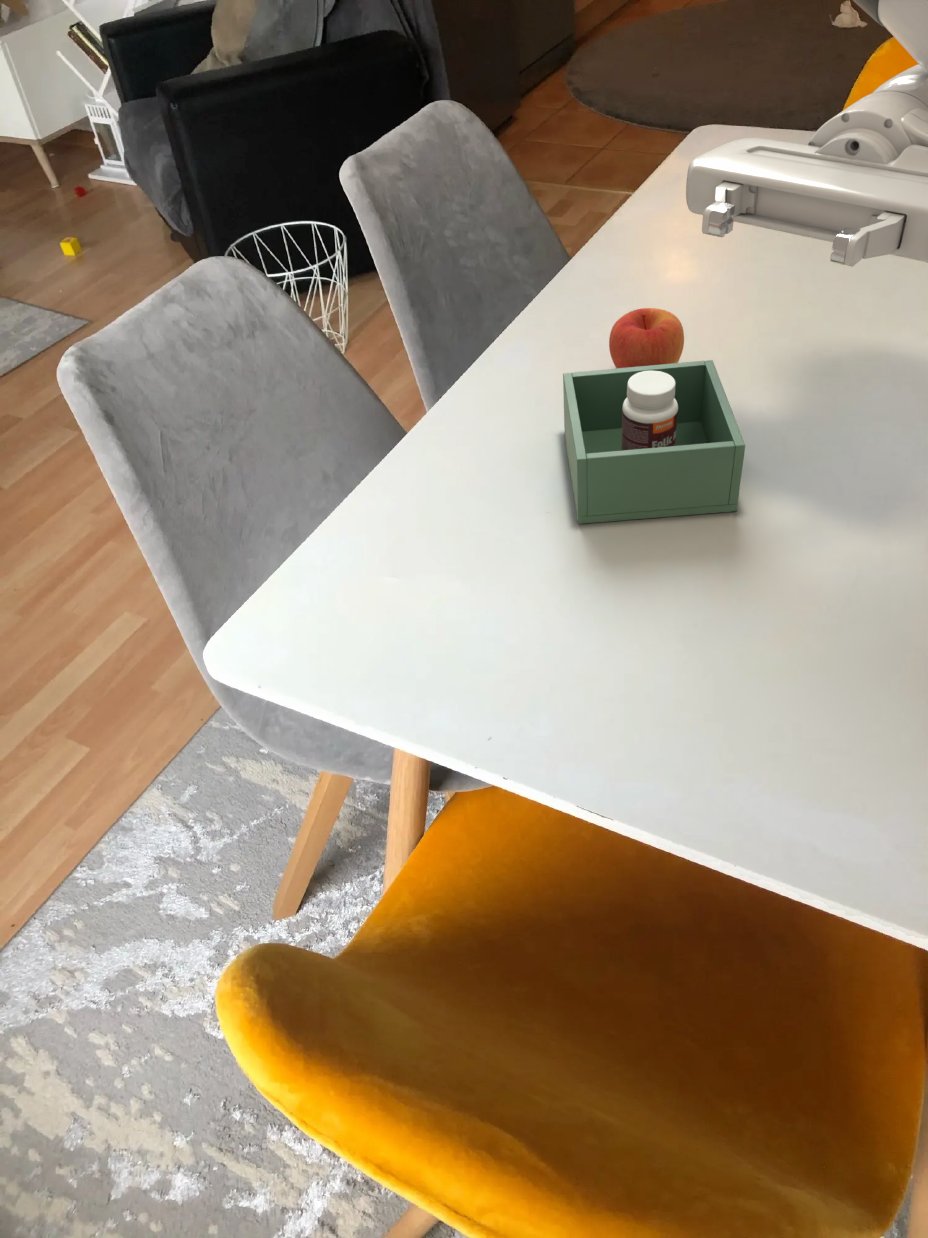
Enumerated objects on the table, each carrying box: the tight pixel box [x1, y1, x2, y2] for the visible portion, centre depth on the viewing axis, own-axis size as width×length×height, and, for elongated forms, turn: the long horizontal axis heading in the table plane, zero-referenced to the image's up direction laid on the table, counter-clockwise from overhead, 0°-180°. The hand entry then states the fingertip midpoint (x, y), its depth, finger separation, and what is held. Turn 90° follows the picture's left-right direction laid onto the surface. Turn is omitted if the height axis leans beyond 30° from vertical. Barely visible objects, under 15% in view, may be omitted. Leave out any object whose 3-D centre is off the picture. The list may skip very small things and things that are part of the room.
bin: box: [562, 359, 746, 525], centre depth 85 cm, size 14×14×7 cm
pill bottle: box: [621, 371, 678, 451], centre depth 84 cm, size 5×5×8 cm
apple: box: [608, 307, 685, 369], centre depth 96 cm, size 7×7×8 cm
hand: (774, 238), depth 64 cm, fingers open, 8 cm apart
